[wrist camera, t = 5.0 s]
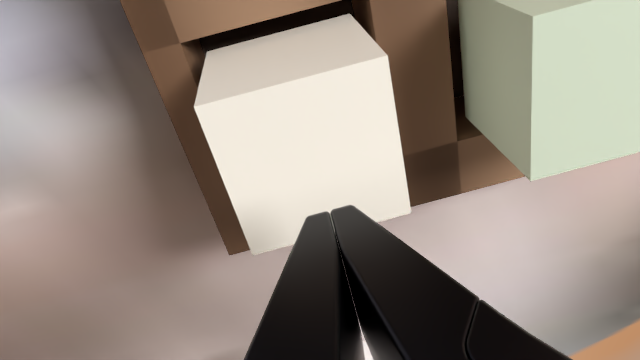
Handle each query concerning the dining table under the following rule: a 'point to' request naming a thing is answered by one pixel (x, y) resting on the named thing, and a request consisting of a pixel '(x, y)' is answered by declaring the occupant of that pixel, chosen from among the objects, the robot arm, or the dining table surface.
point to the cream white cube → (303, 128)
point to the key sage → (553, 80)
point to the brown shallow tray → (406, 75)
